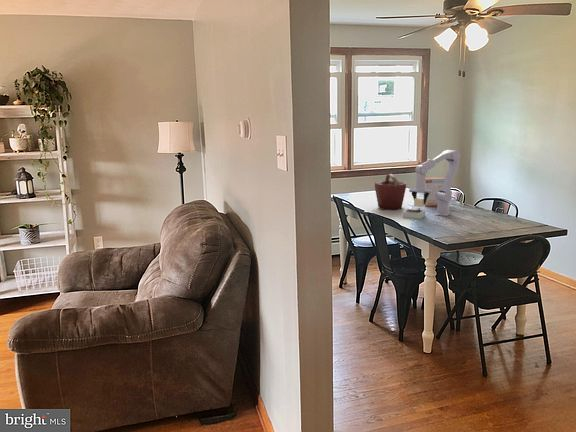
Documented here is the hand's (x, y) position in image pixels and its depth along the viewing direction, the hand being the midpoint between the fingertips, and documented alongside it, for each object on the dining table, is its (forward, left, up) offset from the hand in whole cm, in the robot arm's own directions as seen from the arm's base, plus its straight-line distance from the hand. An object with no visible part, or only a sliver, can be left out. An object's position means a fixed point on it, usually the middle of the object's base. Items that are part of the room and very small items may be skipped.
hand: (419, 203), depth 316 cm
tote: (0, -4, -10) cm, 10 cm away
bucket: (-23, -28, -10) cm, 37 cm away
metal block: (0, -4, -9) cm, 10 cm away
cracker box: (-44, -1, -10) cm, 45 cm away
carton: (0, 0, -1) cm, 1 cm away
